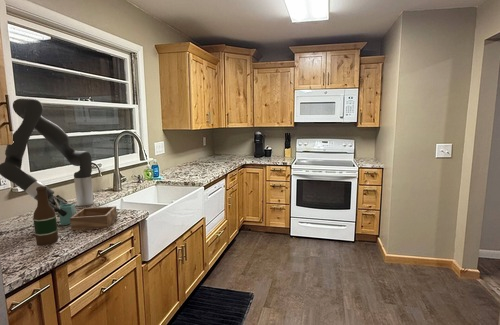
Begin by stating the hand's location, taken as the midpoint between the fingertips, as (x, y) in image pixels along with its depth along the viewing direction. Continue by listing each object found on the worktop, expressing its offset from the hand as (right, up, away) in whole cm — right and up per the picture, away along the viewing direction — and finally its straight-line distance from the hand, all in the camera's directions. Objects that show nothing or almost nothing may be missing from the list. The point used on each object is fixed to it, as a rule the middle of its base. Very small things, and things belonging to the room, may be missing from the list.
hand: (68, 212), depth 146 cm
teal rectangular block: (0, -5, +1) cm, 5 cm away
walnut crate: (+14, -5, -1) cm, 15 cm away
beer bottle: (+6, -9, -23) cm, 26 cm away
